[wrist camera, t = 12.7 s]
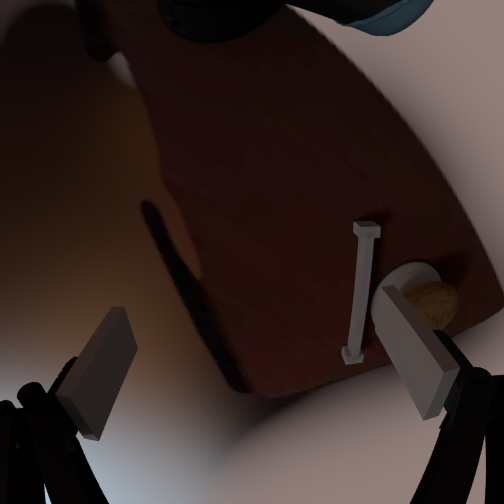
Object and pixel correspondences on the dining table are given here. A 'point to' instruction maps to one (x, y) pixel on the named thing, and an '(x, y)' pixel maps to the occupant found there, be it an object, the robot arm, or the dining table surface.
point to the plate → (403, 281)
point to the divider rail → (360, 288)
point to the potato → (434, 303)
